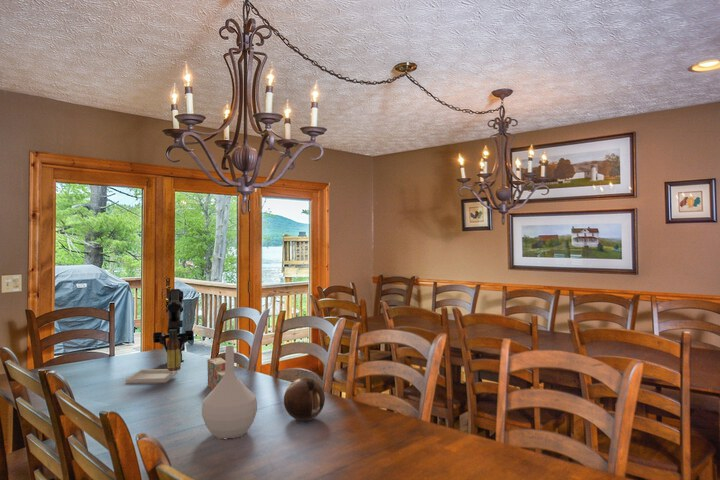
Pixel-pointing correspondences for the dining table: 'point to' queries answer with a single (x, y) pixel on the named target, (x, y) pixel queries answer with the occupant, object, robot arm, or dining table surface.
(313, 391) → the wooden sphere
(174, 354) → the sauce bottle
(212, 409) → the vase
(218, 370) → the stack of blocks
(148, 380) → the tray
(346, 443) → the dining table surface
